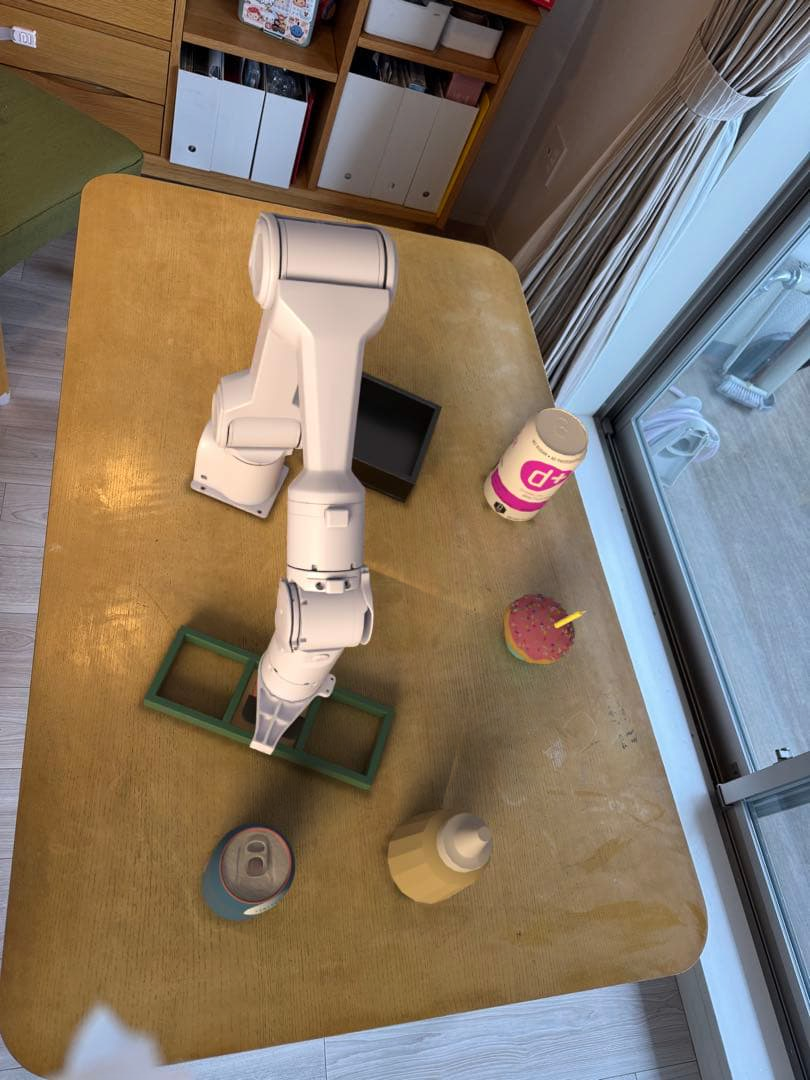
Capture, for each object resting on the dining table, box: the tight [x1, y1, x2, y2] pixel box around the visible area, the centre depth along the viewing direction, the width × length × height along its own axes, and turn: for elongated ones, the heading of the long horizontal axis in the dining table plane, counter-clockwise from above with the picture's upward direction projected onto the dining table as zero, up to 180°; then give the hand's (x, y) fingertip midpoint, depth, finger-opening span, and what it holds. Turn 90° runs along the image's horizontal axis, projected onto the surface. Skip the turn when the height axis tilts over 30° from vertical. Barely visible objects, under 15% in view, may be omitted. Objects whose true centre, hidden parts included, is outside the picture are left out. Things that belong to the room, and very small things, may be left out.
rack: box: [143, 624, 396, 791], centre depth 79 cm, size 8×24×2 cm, turn 73°
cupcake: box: [503, 593, 588, 665], centre depth 88 cm, size 9×8×12 cm
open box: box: [351, 370, 443, 504], centre depth 99 cm, size 14×14×5 cm
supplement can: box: [483, 407, 590, 522], centre depth 97 cm, size 8×8×15 cm
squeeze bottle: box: [386, 806, 494, 905], centre depth 70 cm, size 8×8×18 cm
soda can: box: [200, 822, 296, 922], centre depth 67 cm, size 7×7×12 cm
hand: (276, 701), depth 77 cm, fingers closed on tumbler, 5 cm apart
